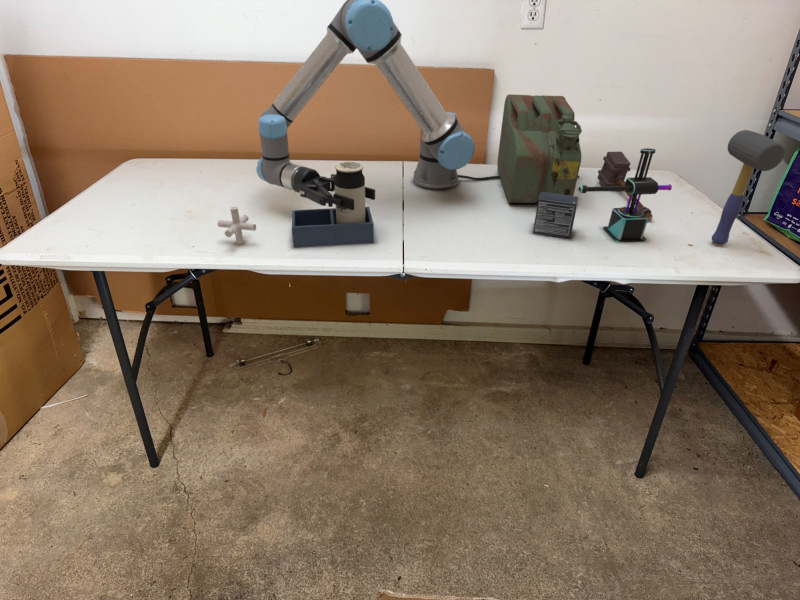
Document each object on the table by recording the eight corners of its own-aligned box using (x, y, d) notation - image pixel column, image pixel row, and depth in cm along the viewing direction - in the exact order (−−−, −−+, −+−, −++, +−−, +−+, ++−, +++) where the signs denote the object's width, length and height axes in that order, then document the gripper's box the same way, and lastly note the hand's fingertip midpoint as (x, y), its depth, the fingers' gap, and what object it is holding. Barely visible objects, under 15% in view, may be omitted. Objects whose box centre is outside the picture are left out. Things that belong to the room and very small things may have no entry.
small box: (571, 229, 150) (579, 195, 144) (570, 239, 145) (578, 204, 139) (534, 224, 153) (540, 190, 147) (531, 233, 148) (537, 198, 142)
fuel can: (508, 207, 163) (521, 118, 148) (496, 168, 192) (505, 91, 177) (570, 209, 162) (590, 120, 147) (548, 170, 191) (562, 92, 176)
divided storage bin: (369, 225, 151) (369, 206, 147) (373, 242, 142) (373, 223, 138) (294, 229, 148) (292, 210, 144) (293, 247, 139) (291, 227, 135)
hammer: (614, 176, 183) (623, 150, 175) (653, 234, 160) (666, 207, 153) (595, 177, 182) (604, 151, 175) (632, 235, 159) (644, 207, 152)
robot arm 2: (641, 226, 153) (667, 143, 139) (657, 241, 145) (686, 154, 132) (559, 229, 150) (576, 144, 137) (571, 243, 143) (590, 156, 129)
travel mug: (352, 220, 149) (350, 158, 139) (371, 229, 144) (370, 166, 134) (330, 228, 144) (327, 165, 134) (349, 238, 140) (347, 173, 130)
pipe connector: (249, 253, 135) (243, 218, 130) (213, 249, 137) (206, 214, 131) (264, 236, 144) (260, 202, 138) (231, 232, 145) (225, 198, 140)
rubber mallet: (692, 234, 149) (730, 127, 132) (717, 233, 150) (758, 127, 133) (718, 255, 139) (763, 142, 122) (744, 254, 139) (793, 142, 123)
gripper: (327, 182, 157) (387, 200, 146) (275, 203, 142) (338, 226, 132) (326, 157, 152) (388, 175, 141) (272, 177, 138) (336, 198, 127)
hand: (363, 199), depth 137 cm, fingers closed on travel mug, 8 cm apart
